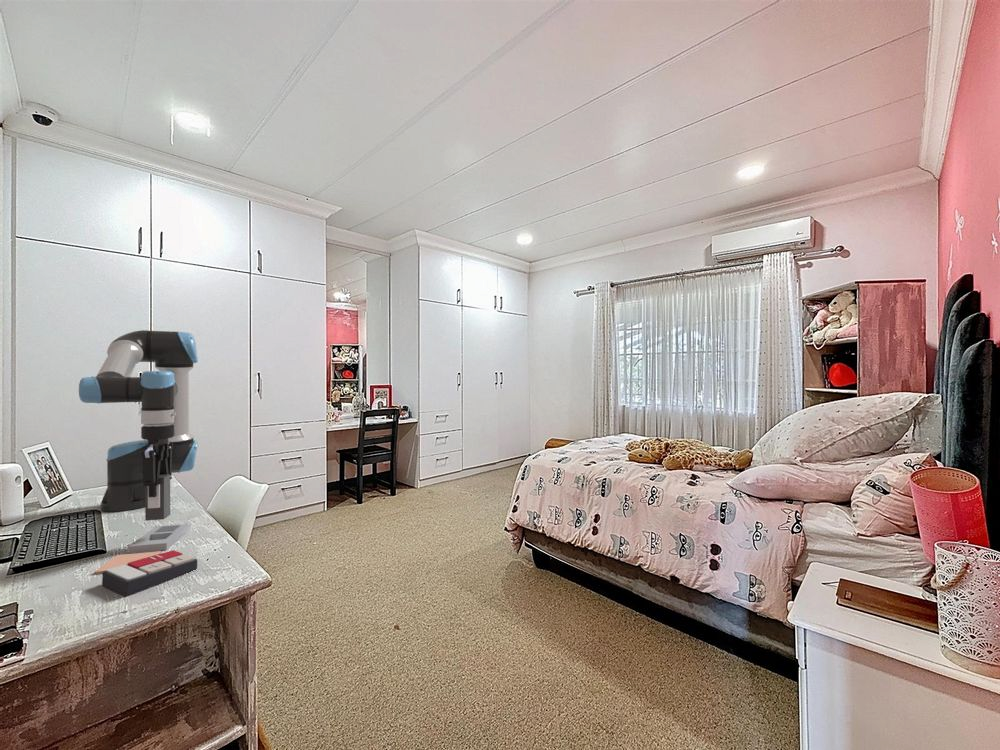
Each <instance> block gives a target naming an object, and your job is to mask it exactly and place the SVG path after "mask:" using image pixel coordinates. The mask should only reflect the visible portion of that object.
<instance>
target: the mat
mask: <svg viewBox="0 0 1000 750" xmlns="http://www.w3.org/2000/svg"><path fill="white" fill-rule="evenodd" d="M161 553H162V551H152V552H142V553H131V554H128V553H126V554H116V555H115V556H114V557H113V558H111V559H110V560H108V561H107V562H105V563H104V564H103V565H101V566H100V567H98V568H97V569H96V570H94V571H93V575H98V574H103V572H104V571H106V570H107V569H111V568H114V567H118V566H121V565H128V563H129V562H133V561H136V560H140V559H143V558H147V557H150V556H154V555H158V554H161Z"/></svg>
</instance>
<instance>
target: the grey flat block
mask: <svg viewBox="0 0 1000 750" xmlns="http://www.w3.org/2000/svg"><path fill="white" fill-rule="evenodd" d="M190 530H191V523H180V524H168V525H166V524H165V525H156V526H155V527H152V529H149V531H147V532H146V533H144V534H143V535H141V536H140V537H139V538H137V539H136V540H135V541H133V542H132V543H131V544H129V545H128V546H127V554H135V553H146V552H157V551H161V552H162V551H168V550H169V549H170V548H171V547H172V546H173V545H175V544H176V543H177V542H178V541H179V540H181V538H182V537H184V536H185V535H186V534H187V533H188V532H189V531H190ZM184 534H185V535H184ZM183 535H184V536H183ZM175 542H176V543H175Z"/></svg>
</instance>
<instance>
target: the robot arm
mask: <svg viewBox="0 0 1000 750" xmlns="http://www.w3.org/2000/svg"><path fill="white" fill-rule="evenodd" d="M106 350H107V351H106V352H107V353H106V354H107V357H106V358H105V360H104V362H103V363H102V366H101V367H100V369H99V370H98V373H97V374H96V376H89V377H88V376H84V377H82V378H81V379H80V381H79V383H78V395H79V396H78V397H79V400H80V401H81V402H82V403H84V404H109V403H110V404H112V403H141V408H140V409H141V410H140V425H141V424H142V426H141V428H140V430H141V432H140V433H141V435H140V437H141V440H132V441H128V442H123V443H118V444H114V445H112V446H110V447H109V448H108V450H107V458H106V462H107V465H106V466H107V467H106V468H107V469H106V471H107V472H106V473H107V474H106V475H107V479H106V480H107V482H106V483H107V484H106V486H107V488H106V489H105V492H104V495H103V497H102V499H101V502H100V511H102V512H109V513H110V512H125V511H132V510H135V509H142V508H144V507H145V486H148V508H160V484H159V475H166V474H170V480H172V478H173V476H172V473H173V474H174V473H178V474H179V473H183V472H189V471H192V470H193V469H194V467H195V462H196V456H197V450H198V444H199V442H198V440H194V435H192V434H191V433H190V429H189V428H190V425H189V424H190V423H189V421H190V419H189V417H190V415H189V413H190V412H189V411H190V409H189V407H190V406H189V405H190V404H189V403H190V402H189V394H190V393H189V388H190V387H189V372H190V371H191V370H192V369H193V368H194V364H196V363H198V361H199V360H198V359H199V358H198V351H197V345H196V340H195V336H194V335H193V334H192V333H190V332H185V331H169V330H168V331H166V330H163V331H162V330H147V329H146V330H141V329H140V330H134V331H132V332H131V331H130V332H128V333H125V334H122V335H120V336H118V337H117V338H116V339H114V340H113V341H112V342H110V344H109V346H108V348H107V349H106ZM138 363H154V366H155V368H156V369H157V370H145V371H143V372H142V373H141V376H136V377H135V376H132V374H133V372H134V369H135V367H136V365H137V364H138Z"/></svg>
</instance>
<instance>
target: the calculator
mask: <svg viewBox="0 0 1000 750" xmlns="http://www.w3.org/2000/svg"><path fill="white" fill-rule="evenodd" d="M196 569H197V570H198V559H197V558H195V557H194V556H192V555H189V554H185V553H182V552H180V551H176V550H169V551H168V550H167V551H165V552H161V554H158V555H154V556H150V557H147V558H143V559H140V560H136V561H133V562H129V563H128V565H121V566H118V567H114V568H111V569H107V570H106V571H104V572H103V573H102V579H101V580H102V581H101V587H102V588H105V589H106V590H109V591H111V592H112V593H115V594H117V595H119V596H122V597H124V598H127V597H130V596H132V595H135V594H137V593H141V592H143V591H145V590H148V589H150V588H152V587H154V586H158V585H161V584H163V583H166V581H167V582H169V581H172V580H174V578H175V579H177V577H178V578H180V577H182V575H183V576H185V575H184V574H186V573H188V574H190V573H189V572H191V571H193V570H196ZM197 570H196V571H197ZM193 572H194V571H193ZM191 573H192V572H191ZM186 575H187V574H186ZM179 576H180V577H179Z"/></svg>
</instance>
